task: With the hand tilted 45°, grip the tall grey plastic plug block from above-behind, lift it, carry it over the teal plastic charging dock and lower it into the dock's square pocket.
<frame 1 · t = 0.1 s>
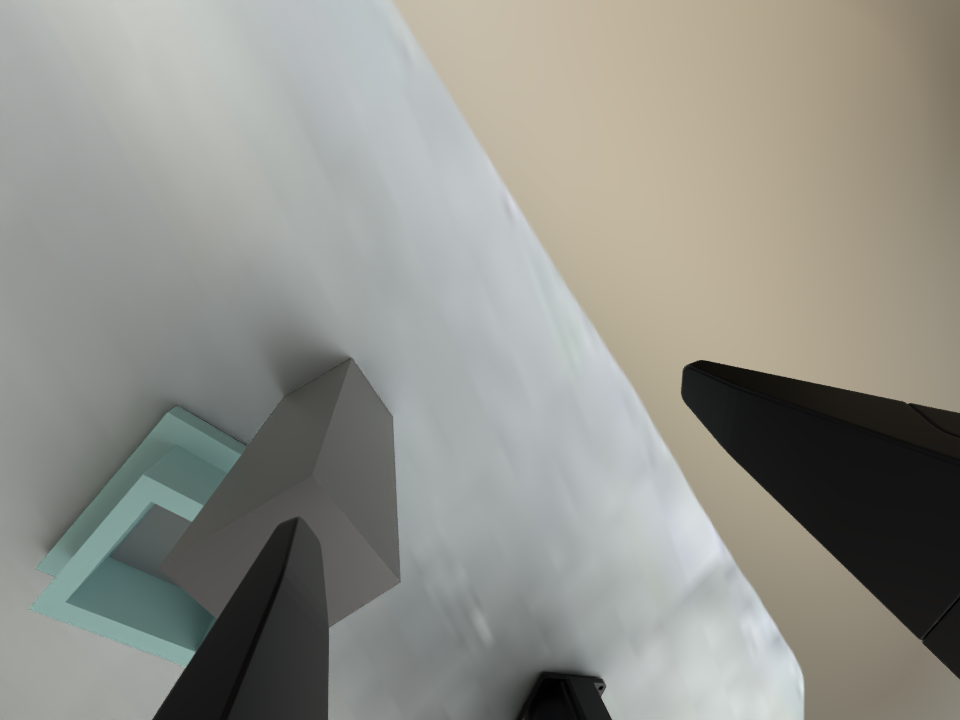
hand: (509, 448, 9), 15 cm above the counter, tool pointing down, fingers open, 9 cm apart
plug: (340, 407, 23), on the counter
dock: (209, 528, 23), on the counter
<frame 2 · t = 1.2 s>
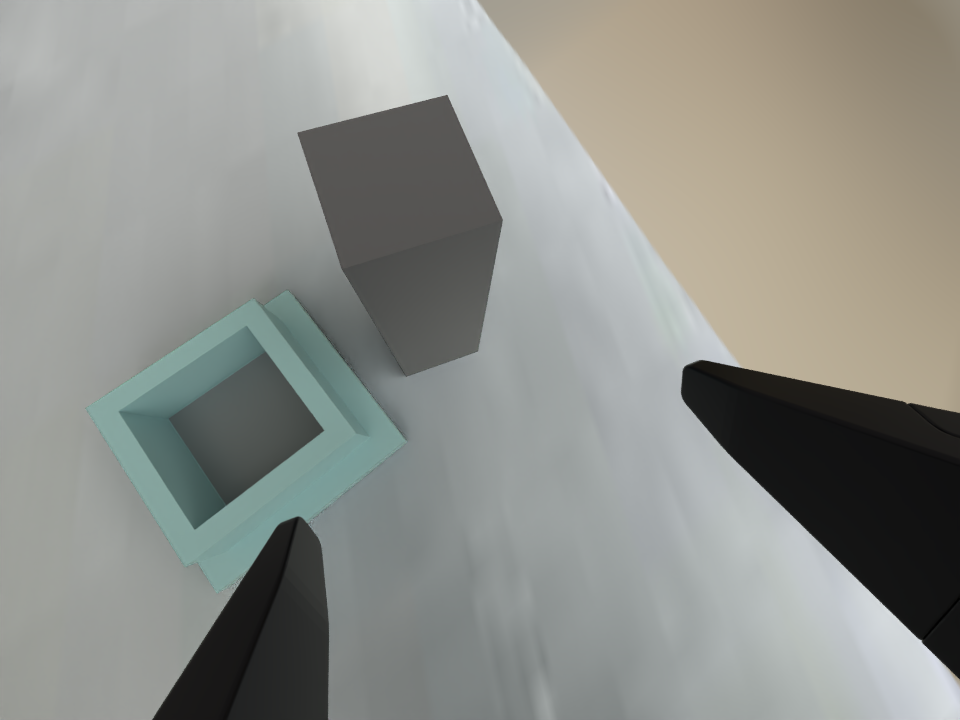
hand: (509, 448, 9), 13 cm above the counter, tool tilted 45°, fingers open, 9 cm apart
plug: (430, 330, 23), on the counter
dock: (264, 428, 21), on the counter
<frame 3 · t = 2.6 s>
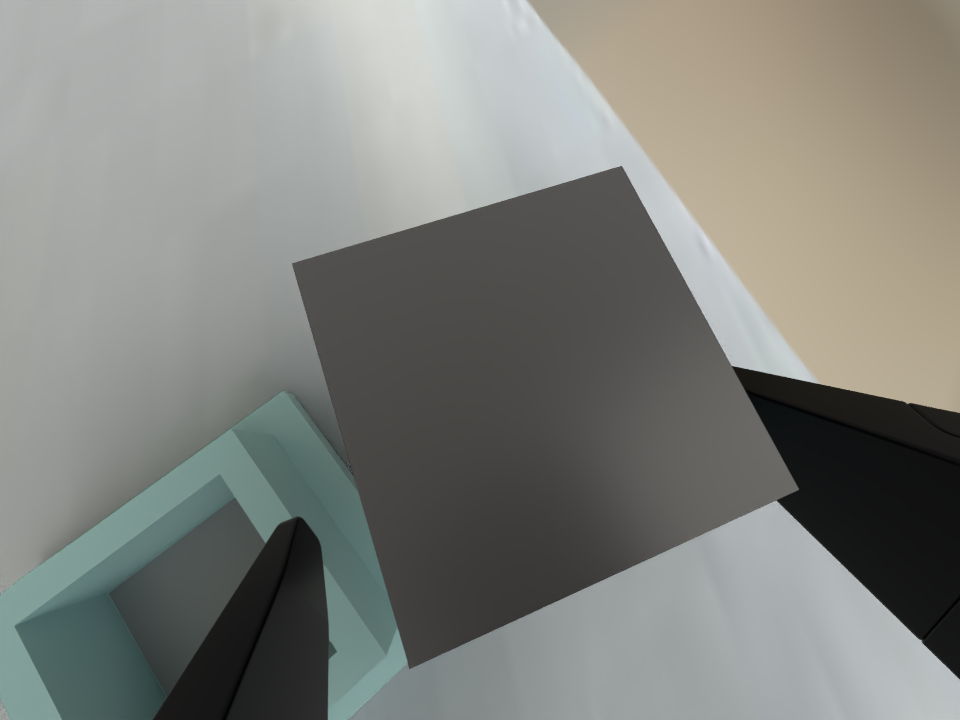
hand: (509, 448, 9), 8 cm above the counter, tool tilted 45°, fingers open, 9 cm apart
plug: (478, 440, 17), on the counter
dock: (249, 594, 15), on the counter
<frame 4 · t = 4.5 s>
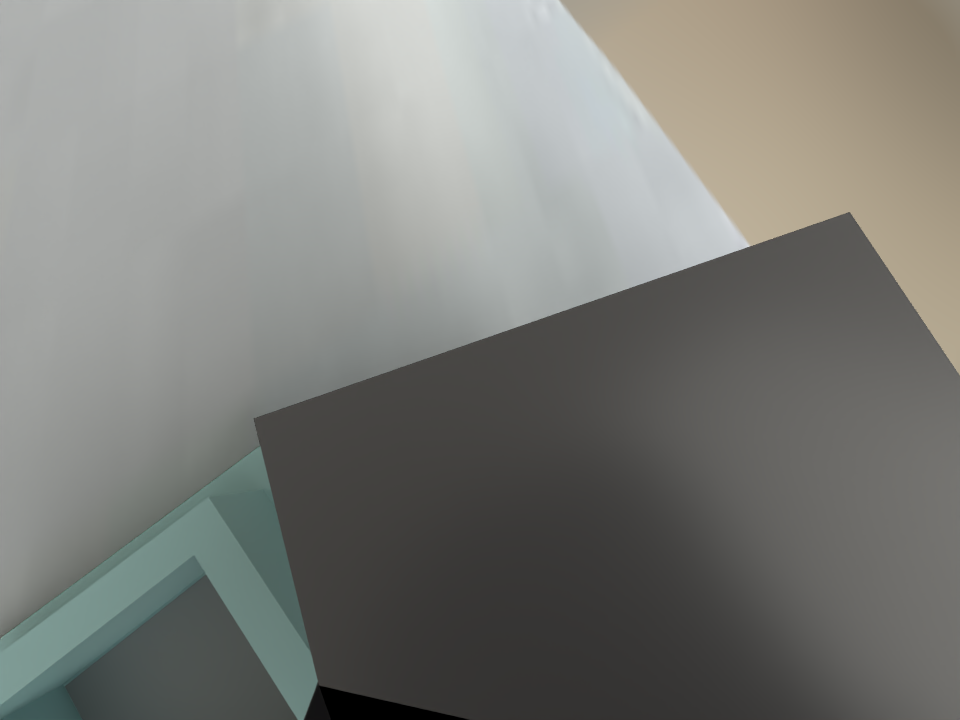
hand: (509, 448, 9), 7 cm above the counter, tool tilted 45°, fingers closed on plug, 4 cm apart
plug: (500, 489, 15), on the counter, touching gripper
dock: (235, 677, 13), on the counter
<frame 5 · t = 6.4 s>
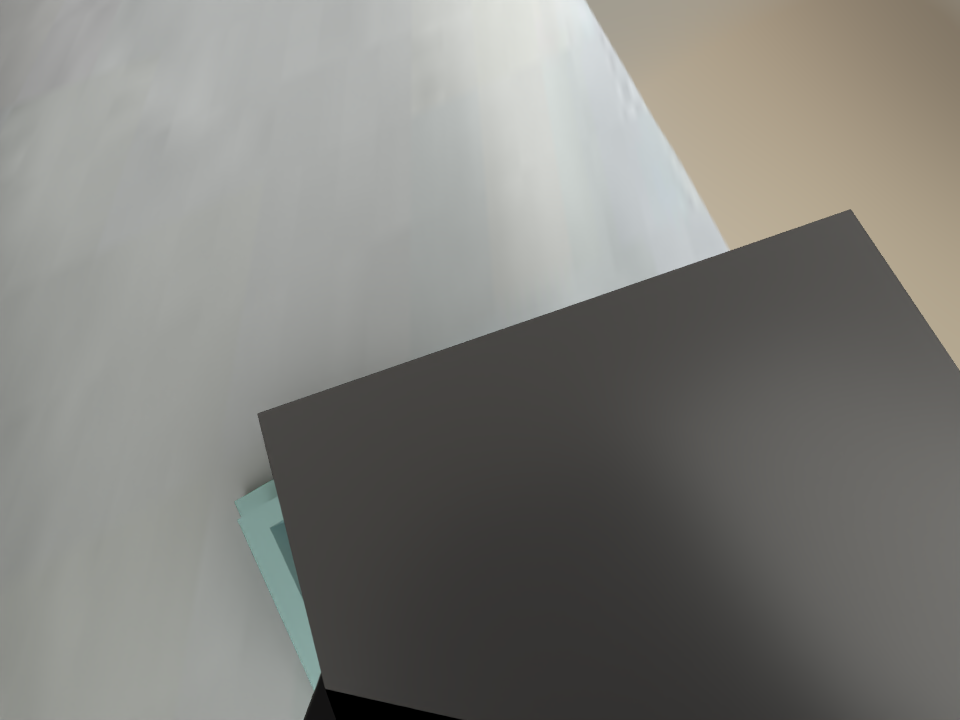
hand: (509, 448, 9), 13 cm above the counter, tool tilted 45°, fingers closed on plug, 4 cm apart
plug: (500, 488, 15), point 7 cm above the counter, touching gripper
dock: (389, 536, 20), on the counter
when the fingers open (9 cm above the counter, at t = 8.3 s): plug drops 1 cm, resting on dock.
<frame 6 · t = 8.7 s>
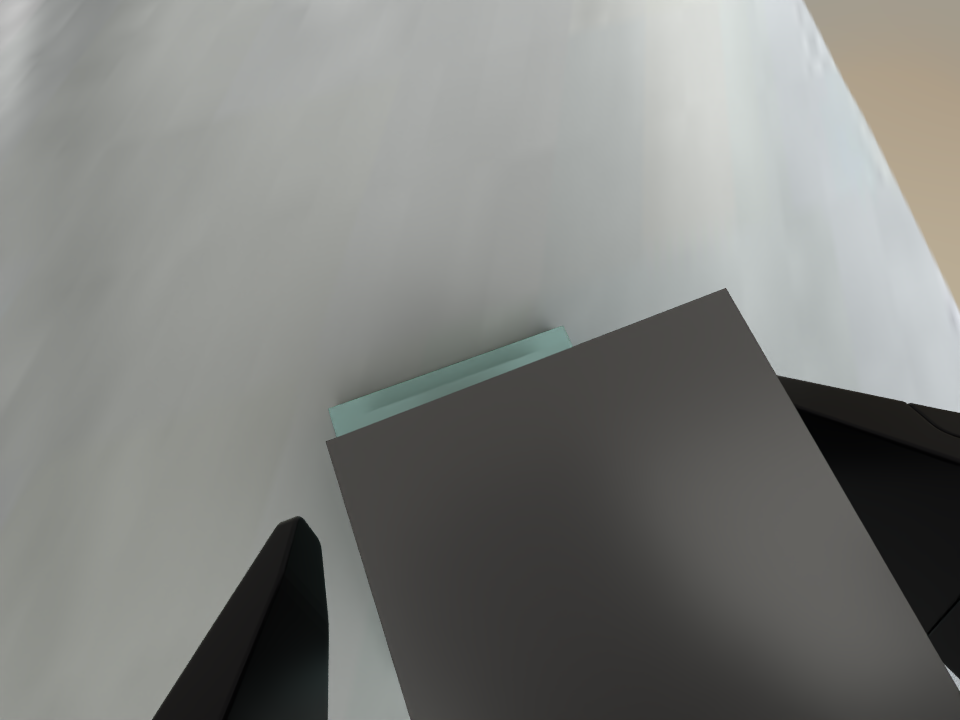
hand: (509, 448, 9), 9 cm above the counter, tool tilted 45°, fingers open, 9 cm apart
plug: (496, 486, 16), point 1 cm above the counter, touching dock
dock: (494, 485, 17), on the counter
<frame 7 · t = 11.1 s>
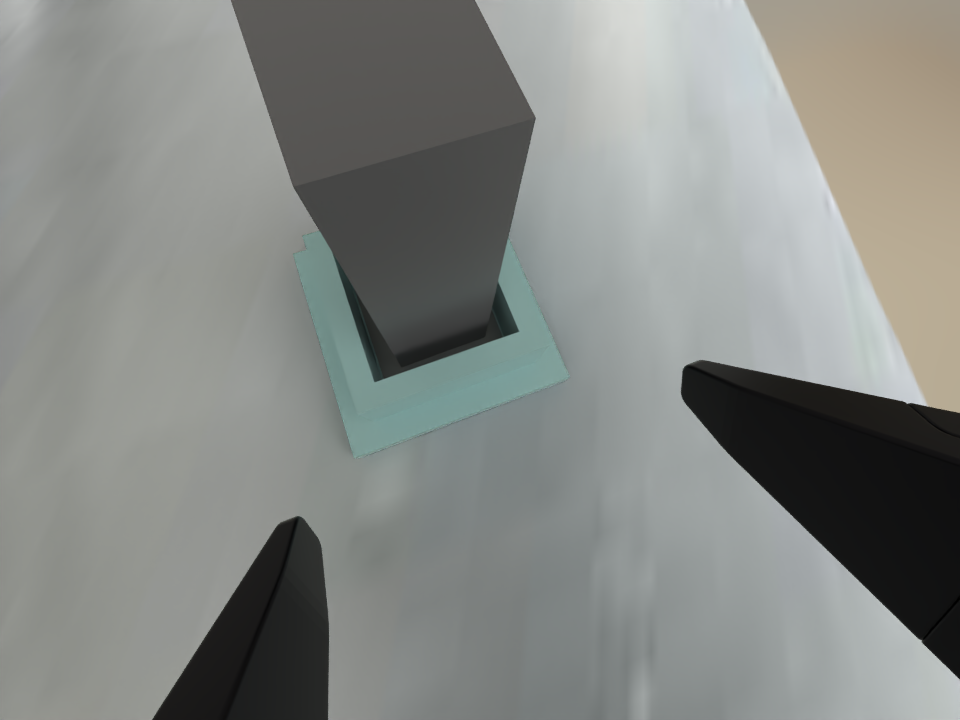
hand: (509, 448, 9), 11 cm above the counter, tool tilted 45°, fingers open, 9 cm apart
plug: (428, 312, 20), point 1 cm above the counter, touching dock
dock: (429, 321, 21), on the counter
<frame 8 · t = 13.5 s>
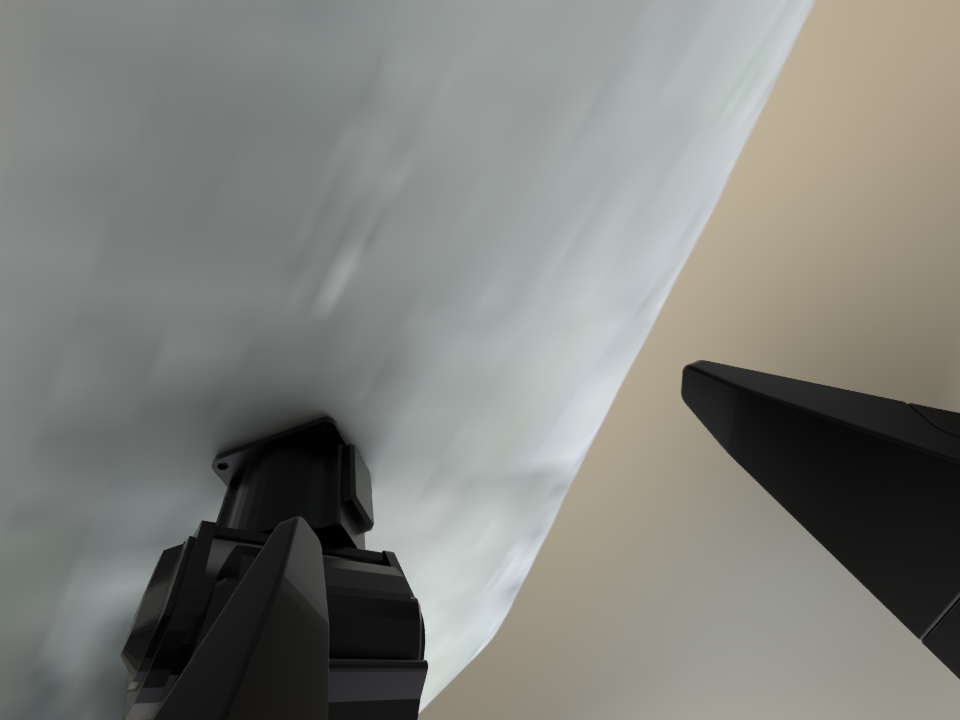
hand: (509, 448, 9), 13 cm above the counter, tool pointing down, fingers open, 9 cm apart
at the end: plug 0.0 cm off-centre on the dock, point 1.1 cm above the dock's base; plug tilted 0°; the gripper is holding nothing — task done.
